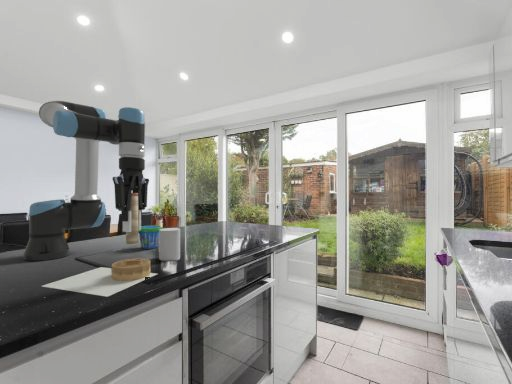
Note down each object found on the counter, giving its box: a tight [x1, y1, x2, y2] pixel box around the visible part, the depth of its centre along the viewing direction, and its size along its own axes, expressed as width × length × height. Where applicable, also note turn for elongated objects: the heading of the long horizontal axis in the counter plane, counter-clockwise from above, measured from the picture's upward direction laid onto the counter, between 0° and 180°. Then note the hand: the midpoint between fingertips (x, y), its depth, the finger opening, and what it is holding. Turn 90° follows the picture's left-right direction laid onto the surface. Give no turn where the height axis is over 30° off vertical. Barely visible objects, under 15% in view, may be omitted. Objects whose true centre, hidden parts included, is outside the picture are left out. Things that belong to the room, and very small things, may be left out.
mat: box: [41, 266, 158, 298], centre depth 82 cm, size 24×20×1 cm
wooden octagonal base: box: [110, 258, 152, 281], centre depth 86 cm, size 11×11×4 cm
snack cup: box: [138, 224, 164, 250], centre depth 130 cm, size 16×10×10 cm
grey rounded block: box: [158, 227, 181, 262], centre depth 109 cm, size 8×8×12 cm
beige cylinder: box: [125, 193, 139, 245], centre depth 86 cm, size 4×4×16 cm
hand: (132, 230), depth 86 cm, fingers closed on beige cylinder, 3 cm apart
